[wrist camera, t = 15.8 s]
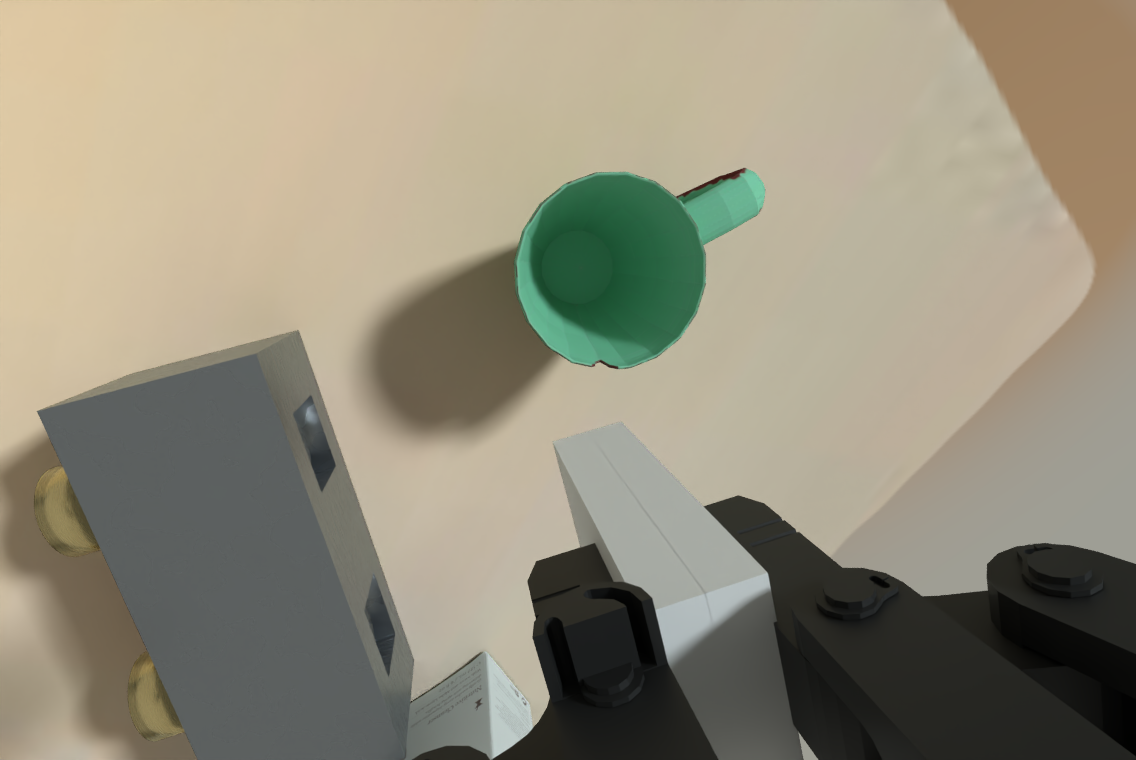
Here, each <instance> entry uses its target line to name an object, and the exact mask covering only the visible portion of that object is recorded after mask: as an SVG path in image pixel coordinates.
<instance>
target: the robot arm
mask: <svg viewBox="0 0 1136 760" xmlns="http://www.w3.org/2000/svg"><path fill="white" fill-rule="evenodd" d="M553 445H554V449H555V453H556V457H557V460H558V464H559V468H560V472H561V475H562V479H563V483H564V487H565V490H566V494H567V498H568V502H569V506H570V509H571V513H572V517H573V521H574V524H575V528H576V532H577V536H578V540H579V543H580V547H581V548H577V549H574V550H571V551H568V552H565V553H561V554H558V555H555V556H552V557H549V558H546V559H542V560H539V561H536V563H535V565H534V568H533V570H532V572H531V574H530V577H529V579H528V586H529V590H530V595H531V599H532V603H533V608H534V612H535V617H536V620H535V622H534V629H533V640H534V644H535V647H536V651H537V654H538V657H539V661H540V664H541V668H542V671H543V674H544V678H545V681H546V684H547V688H548V691H549V695H550V699H549V702H548V706H547V709H546V710H545V712H544V714H543V715H542V717H541V719H540V720H539V722H538V723H537V724H536V725H535V726H534V727H533V729H532V730H531V731H530V732H529V733H528V734H527V735H526V736H525V737H523V738H522V739H521V740H519V741H518V742H517V743H516V744H514V745H513V746H512V747H510V748H509V749H507V750H506V751H504V752H503V753H501V754H499V755H498V756H496V757H495V758H493V759H492V760H803V755H802V750H801V744H800V739H799V734H798V732H799V733H800V734H801V736H802V737H803V739H804V740H805V741H806V743H807V744H808V745H809V747H810V748H811V750H812V751H813V752H814V754H815V755H816V757H817V758H818V760H1136V564H1134V563H1131V562H1128V561H1125V560H1121V559H1118V558H1115V557H1112V556H1109V555H1106V554H1103V553H1100V552H1096V551H1092V550H1088V549H1083V548H1079V547H1074V546H1070V545H1056V544H1048V543H1042V544H1033V545H1025V546H1017V547H1014V548H1011V549H1009V550H1006V551H1003V552H1001V553H998V554H997V555H996V556H995V557H994V558H993V559H992V560H991V561H990V562H989V563H988V564H987V584H988V591H980V592H970V593H961V594H951V595H941V596H924V597H923V596H921V595H919V594H918V593H917V592H915V591H914V590H913V589H911V588H910V587H909V586H907V585H906V584H905V583H903V582H901V581H899V580H898V579H896V578H894V577H892V576H890V575H888V574H886V573H883V572H878V571H874V570H869V569H865V568H842V567H841V566H839V565H838V564H837V563H836V562H835V561H833V560H832V559H831V558H830V557H829V556H827V555H826V554H825V553H824V552H823V551H821V550H820V549H819V548H818V547H816V546H815V545H814V544H813V543H812V542H810V541H809V540H808V539H807V538H806V537H804V536H803V535H802V534H801V533H799V532H796V530H795V528H793V527H792V526H791V525H790V524H789V523H787V522H786V521H785V520H784V521H782V519H781V517H780V516H779V515H778V514H776V513H775V512H774V511H773V510H772V509H770V508H769V507H768V506H767V505H765V504H764V503H761V502H758V501H755V500H751V499H748V498H745V497H742V496H739V495H738V496H735V497H732V498H729V499H726V500H723V501H719V502H716V503H713V504H710V505H707V506H703V505H702V504H701V503H700V502H699V501H698V500H697V499H696V498H695V497H694V496H693V495H692V494H691V493H690V492H689V491H688V490H687V489H686V488H685V487H684V486H683V485H682V484H681V483H680V482H679V481H678V480H677V479H676V478H675V476H674V475H673V474H672V473H671V472H670V471H669V470H668V469H667V468H666V467H665V466H664V465H663V464H662V463H661V462H660V461H659V460H658V459H657V458H656V457H655V456H654V455H653V454H652V453H651V452H650V451H649V450H648V449H647V448H646V446H645V445H644V444H643V443H642V442H641V441H640V440H639V439H638V438H637V437H636V436H635V435H634V434H633V433H632V432H631V431H630V430H629V429H628V428H627V427H626V426H625V425H624V424H623V423H622V422H618V423H615V424H611V425H608V426H604V427H601V428H597V429H594V430H591V431H587V432H584V433H580V434H577V435H574V436H570V437H567V438H563V439H560V440H557V441H553ZM412 760H490V759H489V757H488V756H487V754H485V753H483V752H481V751H479V750H477V749H475V748H473V747H470V746H444V747H441V748H437V749H434V750H431V751H428V752H425V753H422V754H420V755H419V756H417V757H415V758H414V759H412Z"/></svg>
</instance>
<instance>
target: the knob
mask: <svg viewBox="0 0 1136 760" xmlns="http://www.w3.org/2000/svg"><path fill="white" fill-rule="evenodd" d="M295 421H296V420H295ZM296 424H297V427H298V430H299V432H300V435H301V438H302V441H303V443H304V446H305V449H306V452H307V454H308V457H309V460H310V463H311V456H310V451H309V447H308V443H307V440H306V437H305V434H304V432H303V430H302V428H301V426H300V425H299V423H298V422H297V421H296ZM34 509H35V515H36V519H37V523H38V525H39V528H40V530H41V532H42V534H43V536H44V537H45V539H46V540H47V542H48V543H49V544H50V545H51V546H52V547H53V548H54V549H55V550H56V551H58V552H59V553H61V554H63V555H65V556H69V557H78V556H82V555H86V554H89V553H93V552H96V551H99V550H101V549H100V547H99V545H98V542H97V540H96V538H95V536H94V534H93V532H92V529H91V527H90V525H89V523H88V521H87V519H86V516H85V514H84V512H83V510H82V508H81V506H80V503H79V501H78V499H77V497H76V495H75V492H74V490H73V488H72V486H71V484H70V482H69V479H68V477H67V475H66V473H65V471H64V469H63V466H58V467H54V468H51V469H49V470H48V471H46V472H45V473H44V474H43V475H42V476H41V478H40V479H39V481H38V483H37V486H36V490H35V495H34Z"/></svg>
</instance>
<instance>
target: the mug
mask: <svg viewBox="0 0 1136 760" xmlns="http://www.w3.org/2000/svg"><path fill="white" fill-rule="evenodd" d="M764 197H765V188H764V184H763V182H762V181H761V180H760V178H759V177H758V176H757V174H756V173H755V172H753V171H751V170H748V169H746V168H743V169H740V170H737V171H735V172H732V173H729V174H726V175H723V176H719V177H717V178H715V179H713V180H711V181H709V182H706V183H704V184H702V185H700V186H698V187H696V188H694V189H692V190H689V191H687V192H685V193H683V194H681V195H679V196H677V197H675V196H674V195H673V194H671V193H670V192H669V191H667V190H666V189H665V188H664V187H662V186H661V185H660V184H658V183H657V182H656V181H653V180H650V179H647V178H643V177H640V176H637V175H634V174H631V173H628V172H596V173H593V174H590V175H587V176H585V177H582V178H579V179H577V180H574V181H571V182H568V183H566V184H564V185H563V186H561V187H560V188H559V189H558V190H557V191H555V192H554V193H553V194H552V195H550V196H549V197H548V198H547V199H545V200H544V201H543V202H542V203H540V204H539V206H538V207H537V209H536V210H535V212H534V214H533V215H532V217H531V218H530V220H529V221H528V223H527V224H526V226H525V228H524V229H523V231H522V234H521V238H520V242H519V245H518V249H517V253H516V257H515V260H514V268H515V288H516V295H517V298H518V300H519V303H520V306H521V308H522V311H523V313H524V316H525V319H526V321H527V323H528V324H529V325H530V327H531V328H532V329H533V330H534V331H535V333H536V334H537V335H538V336H539V338H540V339H541V340H542V341H543V343H544V344H545V345H546V346H547V347H548V348H550V349H551V350H553V351H554V352H556V353H557V354H559V355H561V356H562V357H564V358H565V359H567V360H568V361H570V362H571V363H575V364H579V365H584V366H589V367H594V366H595V364H596V363H599V362H601V363H603V364H604V365H606V366H608V367H610V368H615V369H626V368H632V367H634V366H637V365H639V364H642V363H644V362H647V361H649V360H652V359H654V358H657V357H658V356H659V355H660V354H662V353H663V352H664V351H665V350H667V349H668V348H669V347H670V346H672V345H673V344H674V343H675V342H676V341H678V340H679V339H680V338H681V336H682V335H683V333H684V332H685V330H686V329H687V327H688V326H689V324H690V323H691V321H692V320H693V318H694V317H695V315H696V314H697V311H698V308H699V305H700V301H701V298H702V295H703V292H704V288H705V285H706V253H705V250H704V246H703V245H705V244H706V243H708V242H710V241H712V240H714V239H716V238H718V237H719V236H721V235H723V234H725V233H727V232H729V231H731V230H732V229H734V228H736V227H738V226H739V225H741V224H743V223H744V222H746V221H748V220H750V219H751V218H753V217H755V216H757V215H758V213H759V212H760V210H761V209H762V206H763V203H764Z"/></svg>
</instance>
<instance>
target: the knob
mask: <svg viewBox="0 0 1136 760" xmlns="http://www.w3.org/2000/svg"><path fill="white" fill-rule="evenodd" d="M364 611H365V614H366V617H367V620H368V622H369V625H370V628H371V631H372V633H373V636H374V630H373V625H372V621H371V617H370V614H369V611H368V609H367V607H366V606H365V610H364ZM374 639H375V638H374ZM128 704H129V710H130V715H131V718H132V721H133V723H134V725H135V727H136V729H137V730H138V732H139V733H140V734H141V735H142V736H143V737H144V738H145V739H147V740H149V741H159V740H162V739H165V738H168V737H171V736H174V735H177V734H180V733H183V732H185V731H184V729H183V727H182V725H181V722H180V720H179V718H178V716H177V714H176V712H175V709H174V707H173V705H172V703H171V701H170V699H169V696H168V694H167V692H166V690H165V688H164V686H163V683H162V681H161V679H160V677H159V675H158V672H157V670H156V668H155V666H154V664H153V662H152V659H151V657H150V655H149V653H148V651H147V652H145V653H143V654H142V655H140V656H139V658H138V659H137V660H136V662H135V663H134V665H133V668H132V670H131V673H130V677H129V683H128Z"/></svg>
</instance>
